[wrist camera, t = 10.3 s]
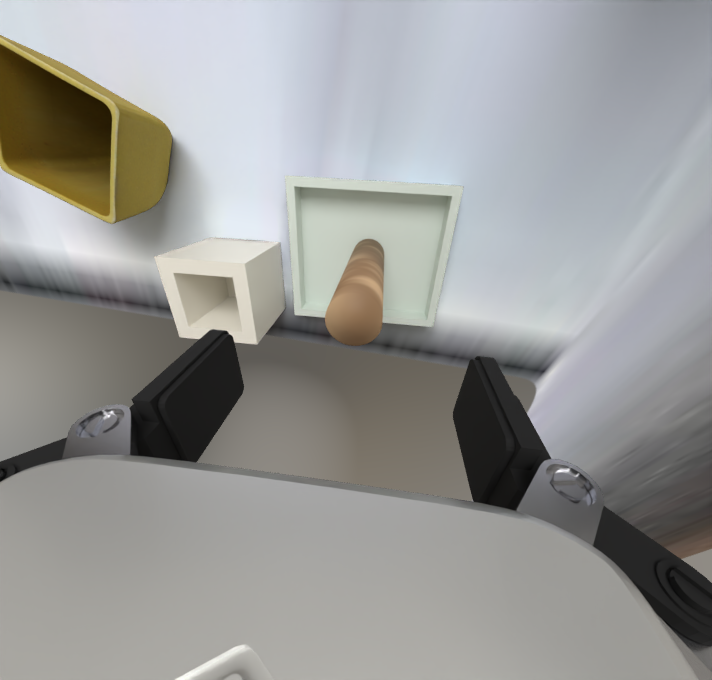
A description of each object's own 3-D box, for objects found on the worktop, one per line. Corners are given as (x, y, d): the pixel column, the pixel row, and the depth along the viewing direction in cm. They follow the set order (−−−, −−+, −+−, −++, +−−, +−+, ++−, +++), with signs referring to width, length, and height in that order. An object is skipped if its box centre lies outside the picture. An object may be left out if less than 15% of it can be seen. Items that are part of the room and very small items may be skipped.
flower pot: (182, 214, 30) (112, 227, 23) (100, 171, 29) (-4, 169, 21) (196, 125, 26) (117, 104, 18) (101, 69, 25) (-28, 21, 17)
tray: (456, 185, 27) (463, 186, 24) (429, 316, 34) (432, 327, 31) (293, 175, 27) (285, 175, 25) (301, 305, 35) (294, 314, 32)
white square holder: (280, 242, 31) (244, 263, 23) (285, 307, 35) (257, 344, 27) (211, 237, 31) (154, 256, 24) (224, 302, 35) (179, 337, 28)
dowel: (385, 239, 29) (385, 296, 15) (382, 271, 31) (379, 348, 17) (353, 237, 29) (324, 291, 15) (352, 269, 31) (325, 343, 17)
